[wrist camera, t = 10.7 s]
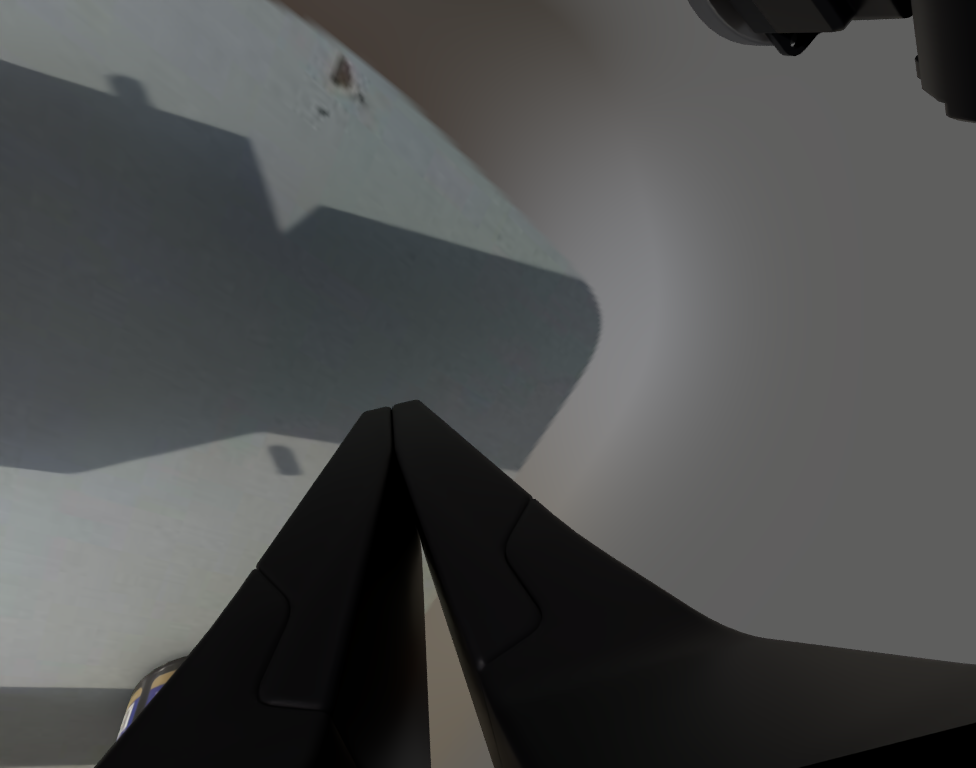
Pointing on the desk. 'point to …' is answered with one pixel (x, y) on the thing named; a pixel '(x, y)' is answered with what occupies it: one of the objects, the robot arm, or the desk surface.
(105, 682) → the desk surface
